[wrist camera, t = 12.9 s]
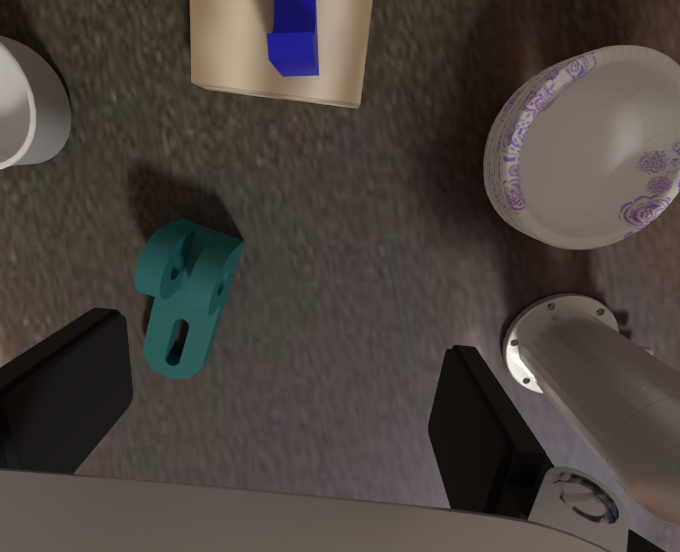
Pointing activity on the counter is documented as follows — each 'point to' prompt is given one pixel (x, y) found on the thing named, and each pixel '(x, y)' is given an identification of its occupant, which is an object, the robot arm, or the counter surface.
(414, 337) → the counter surface
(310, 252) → the counter surface
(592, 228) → the paper bowls
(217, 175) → the counter surface
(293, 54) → the blue stepped block
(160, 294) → the bracket
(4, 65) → the saucepan
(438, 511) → the robot arm
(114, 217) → the counter surface
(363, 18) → the plate
